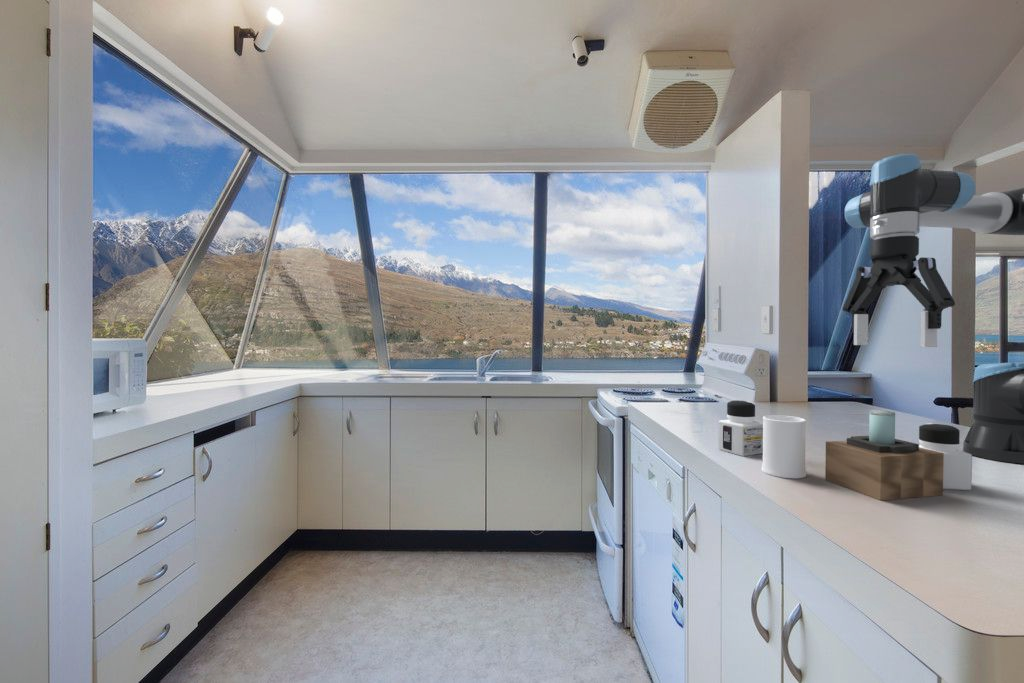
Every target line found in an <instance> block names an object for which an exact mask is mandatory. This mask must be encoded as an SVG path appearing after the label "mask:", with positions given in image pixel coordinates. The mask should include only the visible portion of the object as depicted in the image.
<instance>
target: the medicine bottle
mask: <svg viewBox="0 0 1024 683" xmlns="http://www.w3.org/2000/svg"><path fill="white" fill-rule="evenodd" d="M960 433H961V432H960V429H958V428H957V427H955V426H953V425H949V424H943V423H933V422H932V423H930V422H929V423H923V424H921V425H919V427H918V442H919V443H918V444H919V447H920V448H924V449H928V450H933V451H937V452H941V453H944V461H943V490H955V491H957V490H959V491H960V490H961V491H962V490H963V491H971V490H972V481H973V480H972V475H973V473H972V470H973V469H972V468H973V466H972V465H973V455H971V454H969V453H966V452H964V451H963V450H960V449H959V448H960V437H961V436H960Z"/></svg>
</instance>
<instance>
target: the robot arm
mask: <svg viewBox="0 0 1024 683" xmlns="http://www.w3.org/2000/svg"><path fill="white" fill-rule="evenodd" d="M869 179H870V180H869V181H870V182H869V186H870V187H869V191H868V192H863V193H862V194H860V195H858V196H855V197H853V198H851V199H849V200H848V201H847V203H846V205H845V207H844V212H843V213H844V219H845V221H846V223H847V224H848V225H849V226H850V227H852V228H853V229H854V228H855V229H862V228H863V229H864V228H869V230H870V231H869V238H870V239H872V240H871V241H870V242H869V259H870V260H871V261H872V262H871V263H872V264H871V266H858V267H857V268H856V274H855V279H854V281H853V283H852V285H851V288H850V290H849V292H848V295H847V297H846V298H845V299H846V300H845V302H844V303H843V306H842V311H843V312H847V313H849V314H850V315H851V329H852V330H853V346H868V345H869V314H868V313H867V310H868V308H869V307H870V306H871V305H872V303H873V302H874V301H875V299H876V298H877V297H878V295H879V294H880V293H881V291H882V290H884V289H886V288H887V287H892V286H893V287H895V286H903V287H905V288H906V289H907V290H908V291H909V293H911V295H912V296H914V298H915V299H916V300H917V301H918V302H919V303H920V304H921V306H922V307H924V309H923V311H920V348H937V347H938V330H940V329H941V328H942V313H943V312H942V311H944V310H945V309H947V308H952V307H954V306H955V305H956V302H955V300H954V298H953V296H952V295H951V292H950V291H949V289H948V287H947V285H946V283H945V282H944V280H943V278H942V276H941V275H940V272H939V271H938V269H937V268H938V267H937V260H936V259H935V257H919V259H918V260H917V256H918V255H919V253H920V237H919V236H917V235H918V234H919V233H920V227H923V228H924V227H926V228H927V227H928V228H946V229H947V228H949V229H969V230H970V231H971V232H974V233H977V234H982V235H985V234H986V235H1000V236H1024V187H1020V188H1017V189H1015V188H1014V189H1013V190H1012V189H1011V190H1008V191H990V192H987V193H983V194H981V195H975V193H976V187H977V186H976V181H975V179H974V178H973V176H971V175H970V174H968V173H965V172H959V171H956V170H934V169H932V170H931V169H923V168H922V164H921V159H920V157H919V156H918V155H917V154H915V153H904V154H903V153H901V154H896V155H890V156H888V157H885V158H882V159H880V160H878V161H876V162H874V163H873V165H872V167H871V172H870V178H869ZM917 270H918V271H919V273H920V274H919V275H920V277H921V278H922V279H921V278H920V277H919V276H918V275H917V273H915V272H916V271H917ZM922 280H923V282H924V284H925V285H924V284H923V282H922ZM972 383H973V403H972V404H973V406H972V407H973V410H972V411H973V412H972V413H973V415H972V416H973V420H972V424H971V425H970V428H969V430H968V432H967V434H966V437H965V438H964V440H963V443H962V451H963V452H966V453H969V454H971V455H972V456H974V457H979V458H982V459H983V458H984V459H987V460H992V461H1000V462H1004V463H1005V462H1007V463H1013V464H1023V465H1024V361H1022V362H1002V363H1001V362H1000V363H999V362H998V363H997V362H995V363H984V364H979V365H977V367H975V369H974V375H973V380H972Z"/></svg>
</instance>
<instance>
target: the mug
mask: <svg viewBox="0 0 1024 683" xmlns="http://www.w3.org/2000/svg"><path fill="white" fill-rule="evenodd" d="M806 422H807V421H806V419H805V418H802V417H798V416H792V415H791V416H790V415H784V414H783V415H781V414H779V415H778V414H773V415H772V414H769V415H764V416H763V417H762V423H763V453H762V465H761V472H763V473H765V474H766V475H769V476H771V477H772V476H773V477H777V478H783V479H794V480H796V479H803V478H806V477H807V472H806V471H807V470H806V428H807V427H806Z"/></svg>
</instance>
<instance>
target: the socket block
mask: <svg viewBox="0 0 1024 683" xmlns="http://www.w3.org/2000/svg"><path fill="white" fill-rule="evenodd" d="M919 445H920V443H915V442H910V441H906V440H902V439H899V438H895V444H887V445H883V444H879V443H874V442H870V441H869V435H859V436H858V435H857V436H856V435H854V436H850V437H846V440H831V441H825V467H824V469H825V472H824V473H825V481H827V482H830V483H832V484H836V485H838V486H841V487H843V488H846V489H849V490H852V491H854V492H857V493H859V494H863V495H864V496H867V497H871V498H873V499H876V500H878V501H887V500H891V501H892V500H899V499H914V498H923V497H924V498H925V497H936V496H938V497H939V496H944V489H943V461H944V453H941V452H937V451H933V450H928V449H924V448H920V447H919Z"/></svg>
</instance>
